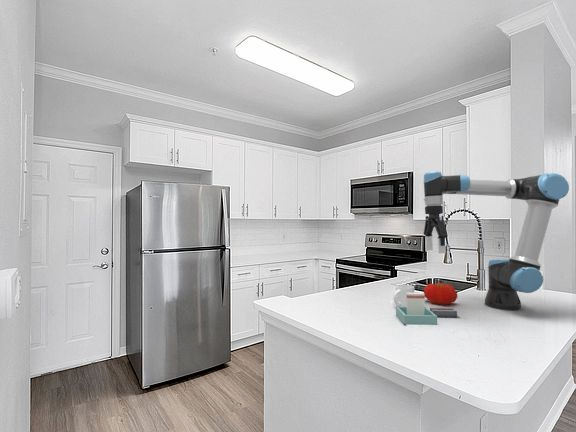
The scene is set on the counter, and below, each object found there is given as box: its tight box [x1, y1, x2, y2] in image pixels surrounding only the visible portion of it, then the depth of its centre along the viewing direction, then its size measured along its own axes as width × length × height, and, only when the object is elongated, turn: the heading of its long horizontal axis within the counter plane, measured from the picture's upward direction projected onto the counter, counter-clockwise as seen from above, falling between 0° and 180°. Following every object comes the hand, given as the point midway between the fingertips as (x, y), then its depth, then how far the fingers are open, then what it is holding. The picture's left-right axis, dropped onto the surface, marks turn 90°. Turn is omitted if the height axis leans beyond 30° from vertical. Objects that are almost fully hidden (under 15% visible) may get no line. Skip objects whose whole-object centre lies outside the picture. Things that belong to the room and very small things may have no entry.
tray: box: [395, 306, 438, 326], centre depth 137 cm, size 13×13×4 cm
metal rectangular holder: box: [429, 307, 461, 319], centre depth 143 cm, size 12×8×3 cm, turn 86°
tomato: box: [423, 282, 458, 306], centre depth 164 cm, size 14×16×10 cm
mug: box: [393, 283, 415, 307], centre depth 157 cm, size 12×8×10 cm
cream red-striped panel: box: [407, 292, 426, 315], centre depth 137 cm, size 7×1×11 cm, turn 86°
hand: (435, 251), depth 149 cm, fingers open, 13 cm apart
